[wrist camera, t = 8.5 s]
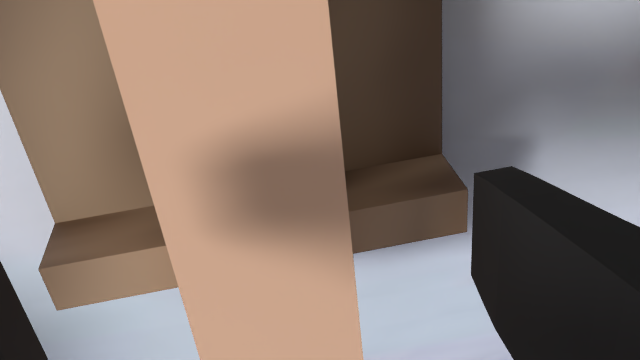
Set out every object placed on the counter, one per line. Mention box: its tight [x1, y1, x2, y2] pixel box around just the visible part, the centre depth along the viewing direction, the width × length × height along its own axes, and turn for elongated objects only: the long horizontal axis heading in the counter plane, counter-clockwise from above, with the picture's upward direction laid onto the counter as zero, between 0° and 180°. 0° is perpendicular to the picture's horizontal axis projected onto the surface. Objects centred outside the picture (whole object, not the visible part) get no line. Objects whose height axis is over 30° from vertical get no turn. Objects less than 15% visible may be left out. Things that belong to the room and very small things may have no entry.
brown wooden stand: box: [0, 0, 468, 310], centre depth 16 cm, size 12×12×3 cm
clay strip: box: [93, 0, 363, 360], centre depth 13 cm, size 14×4×3 cm, turn 6°
